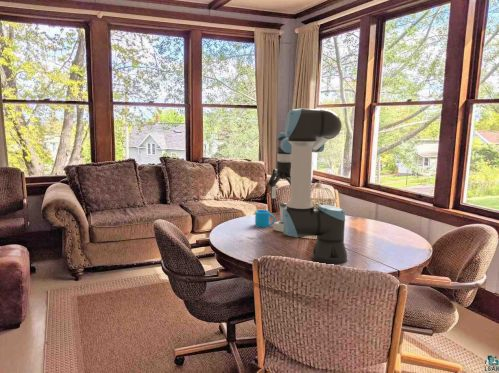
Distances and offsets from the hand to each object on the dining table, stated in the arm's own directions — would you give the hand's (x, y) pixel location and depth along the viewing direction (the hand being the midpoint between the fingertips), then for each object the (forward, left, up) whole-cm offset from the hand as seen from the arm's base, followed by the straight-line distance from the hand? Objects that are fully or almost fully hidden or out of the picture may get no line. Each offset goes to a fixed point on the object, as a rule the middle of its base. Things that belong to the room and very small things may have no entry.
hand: (283, 200), depth 225 cm
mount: (0, 0, -17) cm, 17 cm away
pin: (0, 0, -17) cm, 17 cm away
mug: (+13, 0, -17) cm, 21 cm away
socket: (-10, +2, -17) cm, 20 cm away
